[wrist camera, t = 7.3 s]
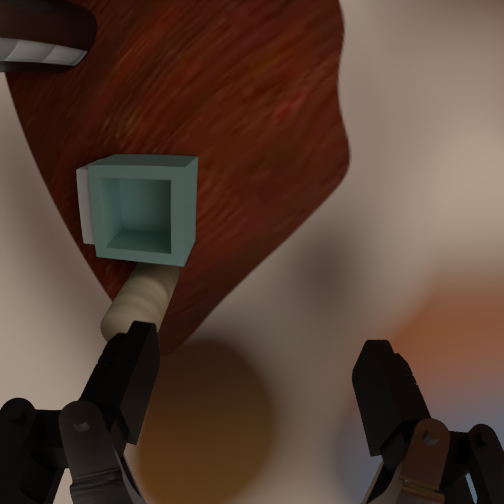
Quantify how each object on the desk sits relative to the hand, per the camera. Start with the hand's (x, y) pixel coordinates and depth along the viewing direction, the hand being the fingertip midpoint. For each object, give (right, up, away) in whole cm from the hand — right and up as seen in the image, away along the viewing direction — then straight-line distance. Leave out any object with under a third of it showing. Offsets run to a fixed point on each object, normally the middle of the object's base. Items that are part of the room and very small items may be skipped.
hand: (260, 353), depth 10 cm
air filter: (-16, +22, +7) cm, 28 cm away
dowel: (-9, +2, +17) cm, 19 cm away
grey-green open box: (-8, +8, +14) cm, 18 cm away
